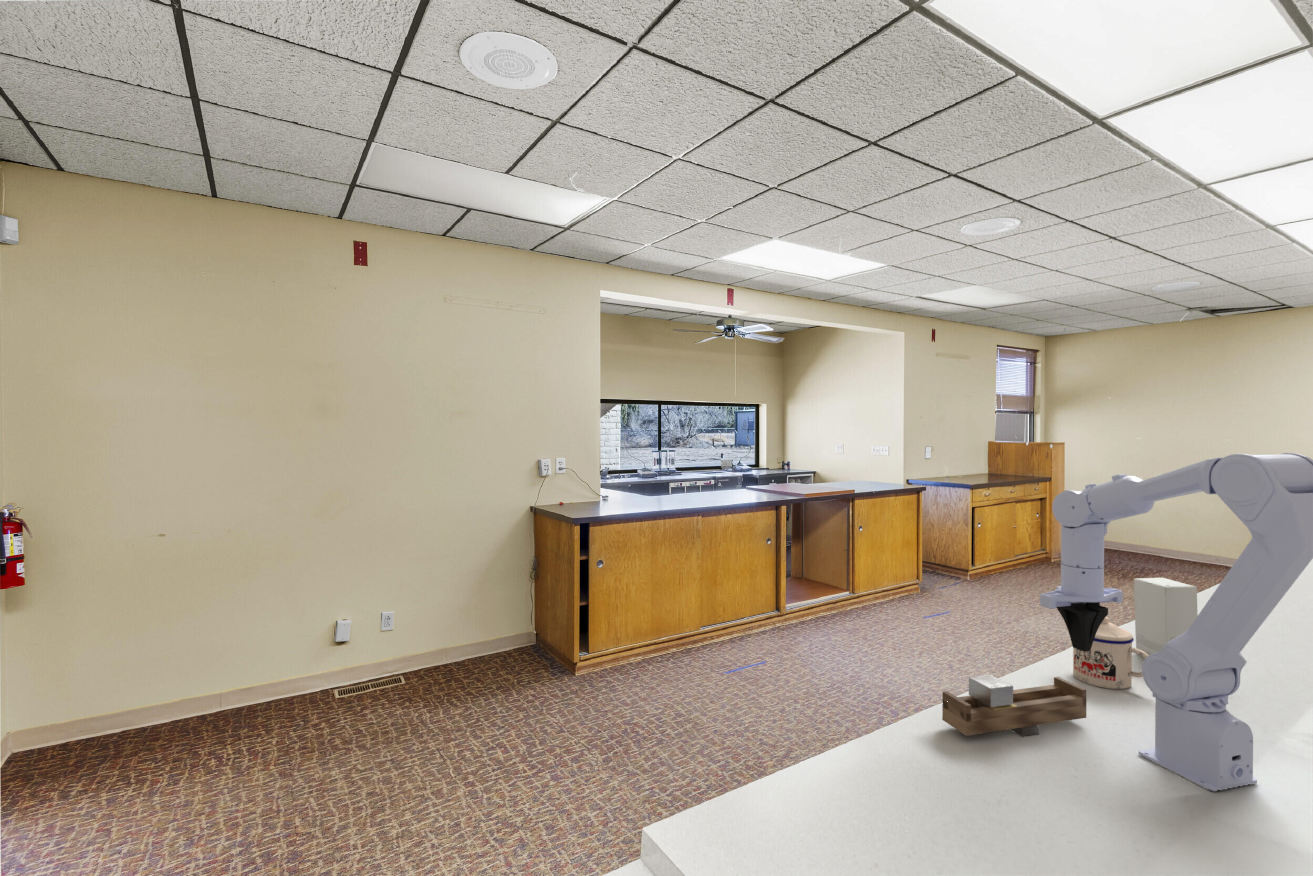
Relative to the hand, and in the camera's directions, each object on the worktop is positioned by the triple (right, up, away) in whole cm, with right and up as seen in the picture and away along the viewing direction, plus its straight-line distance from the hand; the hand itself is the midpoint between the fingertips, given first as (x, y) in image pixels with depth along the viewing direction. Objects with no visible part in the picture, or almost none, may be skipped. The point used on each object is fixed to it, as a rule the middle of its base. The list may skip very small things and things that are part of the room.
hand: (1081, 649), depth 98 cm
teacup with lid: (+14, -10, +12) cm, 21 cm away
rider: (-18, -7, -5) cm, 20 cm away
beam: (-13, -11, -4) cm, 17 cm away
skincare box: (+32, -10, +23) cm, 41 cm away
